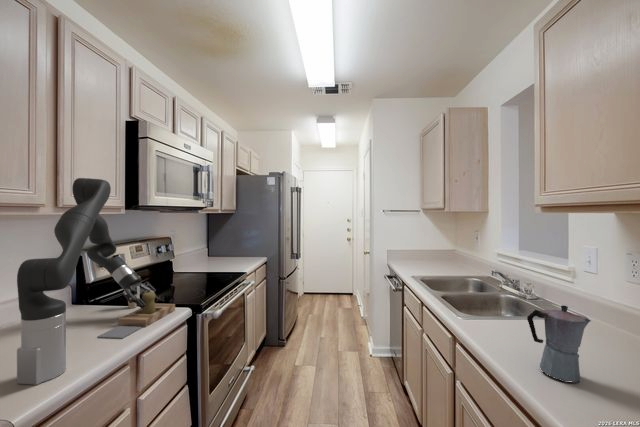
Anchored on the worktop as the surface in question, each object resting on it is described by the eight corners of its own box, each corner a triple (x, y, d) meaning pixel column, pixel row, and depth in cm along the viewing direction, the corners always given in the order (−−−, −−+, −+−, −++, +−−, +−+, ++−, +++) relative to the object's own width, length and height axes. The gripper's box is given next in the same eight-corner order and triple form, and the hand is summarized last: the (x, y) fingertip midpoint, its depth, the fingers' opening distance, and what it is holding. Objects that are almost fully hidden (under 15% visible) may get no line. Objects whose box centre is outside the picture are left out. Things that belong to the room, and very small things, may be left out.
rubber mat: (122, 338, 106) (122, 337, 106) (97, 337, 106) (97, 336, 106) (141, 328, 116) (141, 326, 116) (118, 327, 116) (118, 325, 116)
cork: (138, 320, 123) (138, 295, 123) (143, 315, 129) (143, 291, 129) (154, 319, 125) (154, 294, 125) (158, 314, 131) (158, 290, 131)
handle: (129, 306, 143) (129, 275, 143) (142, 305, 143) (142, 275, 143) (122, 309, 138) (122, 278, 138) (136, 309, 138) (136, 277, 138)
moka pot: (602, 388, 76) (603, 312, 76) (538, 382, 79) (538, 309, 79) (576, 368, 86) (577, 301, 85) (519, 364, 88) (520, 299, 88)
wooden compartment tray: (145, 327, 116) (145, 319, 116) (118, 326, 117) (118, 318, 117) (175, 310, 136) (175, 304, 136) (151, 309, 137) (151, 303, 137)
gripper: (119, 275, 120) (145, 303, 119) (143, 268, 135) (166, 293, 134) (107, 287, 121) (133, 315, 120) (132, 279, 135) (155, 304, 134)
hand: (150, 303), depth 127 cm, fingers open, 8 cm apart
